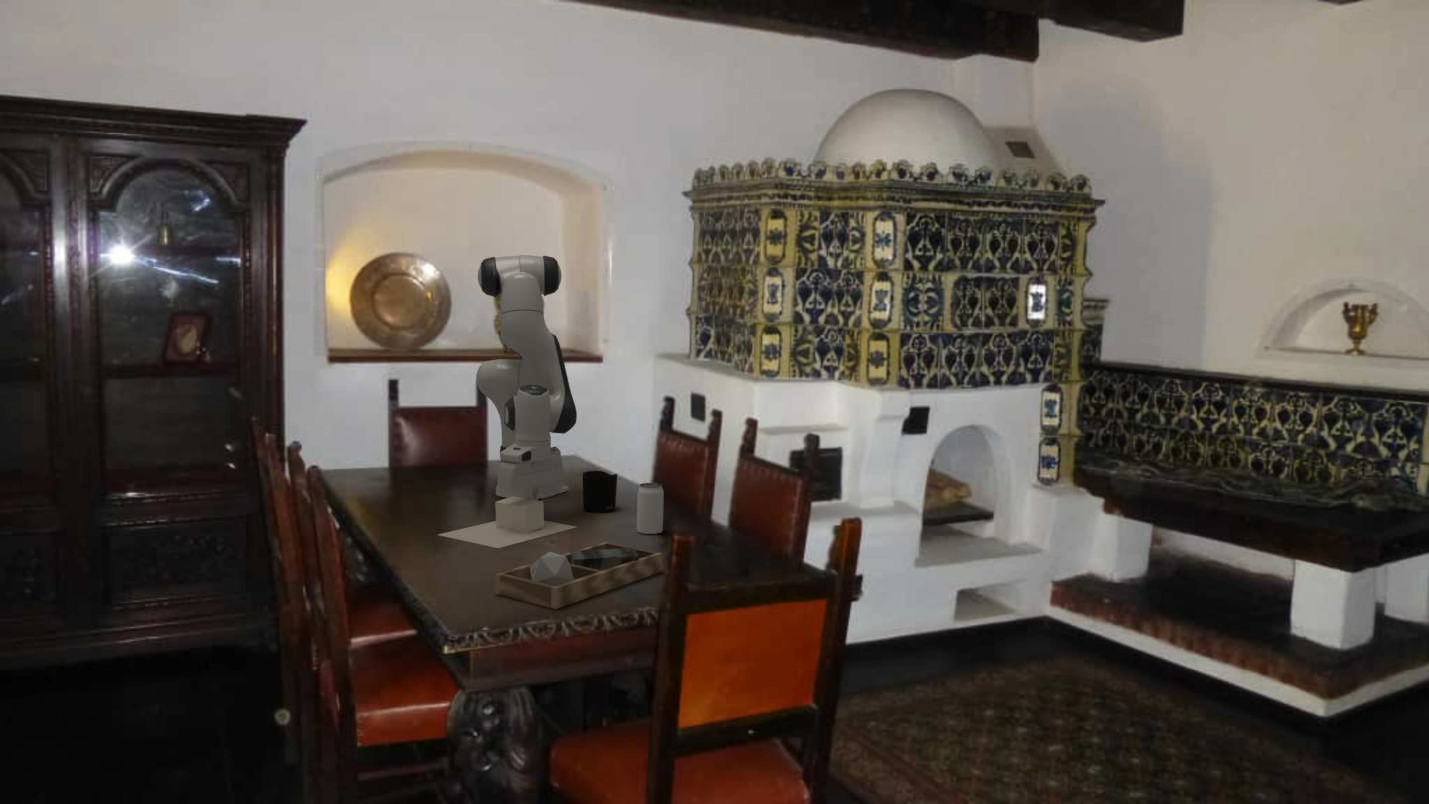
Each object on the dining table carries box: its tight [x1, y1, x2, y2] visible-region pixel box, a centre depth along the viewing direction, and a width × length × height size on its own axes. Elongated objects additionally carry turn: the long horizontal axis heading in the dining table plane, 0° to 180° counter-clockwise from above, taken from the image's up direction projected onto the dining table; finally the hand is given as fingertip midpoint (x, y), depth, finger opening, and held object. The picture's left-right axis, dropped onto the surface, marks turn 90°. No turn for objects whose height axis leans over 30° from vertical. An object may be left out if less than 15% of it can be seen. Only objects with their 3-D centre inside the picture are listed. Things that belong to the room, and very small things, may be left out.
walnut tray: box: [494, 541, 664, 610], centre depth 223 cm, size 35×16×4 cm, turn 147°
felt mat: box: [437, 520, 577, 549], centre depth 264 cm, size 28×20×1 cm
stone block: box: [570, 548, 639, 571], centre depth 228 cm, size 9×14×5 cm, turn 104°
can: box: [636, 482, 665, 535], centre depth 268 cm, size 6×6×12 cm
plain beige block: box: [494, 496, 545, 533], centre depth 266 cm, size 6×10×6 cm, turn 57°
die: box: [530, 551, 574, 586], centre depth 214 cm, size 8×9×10 cm
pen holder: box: [582, 470, 618, 514], centre depth 292 cm, size 9×9×10 cm
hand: (532, 504), depth 270 cm, fingers closed
